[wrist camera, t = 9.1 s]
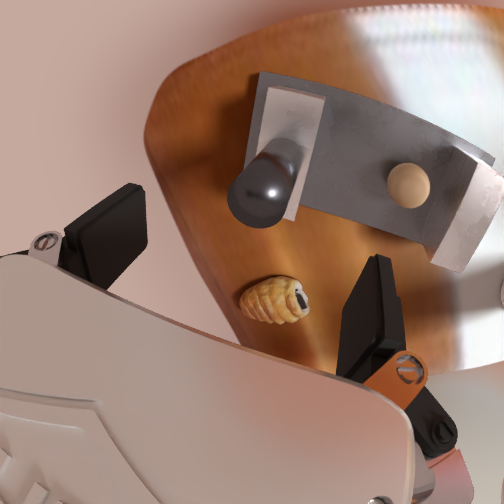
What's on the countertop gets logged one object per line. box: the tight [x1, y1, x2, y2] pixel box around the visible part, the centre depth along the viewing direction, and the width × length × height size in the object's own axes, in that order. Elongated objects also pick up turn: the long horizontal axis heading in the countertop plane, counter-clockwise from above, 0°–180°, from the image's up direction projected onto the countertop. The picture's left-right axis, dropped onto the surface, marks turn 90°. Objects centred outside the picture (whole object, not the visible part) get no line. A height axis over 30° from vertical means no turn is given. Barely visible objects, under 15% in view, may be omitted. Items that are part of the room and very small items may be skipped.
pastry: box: [239, 276, 310, 325], centre depth 37 cm, size 9×7×4 cm
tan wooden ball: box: [387, 163, 430, 208], centre depth 21 cm, size 4×4×4 cm
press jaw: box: [227, 86, 326, 228], centre depth 19 cm, size 4×10×13 cm, turn 170°
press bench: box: [244, 71, 504, 273], centre depth 22 cm, size 24×12×6 cm, turn 81°
